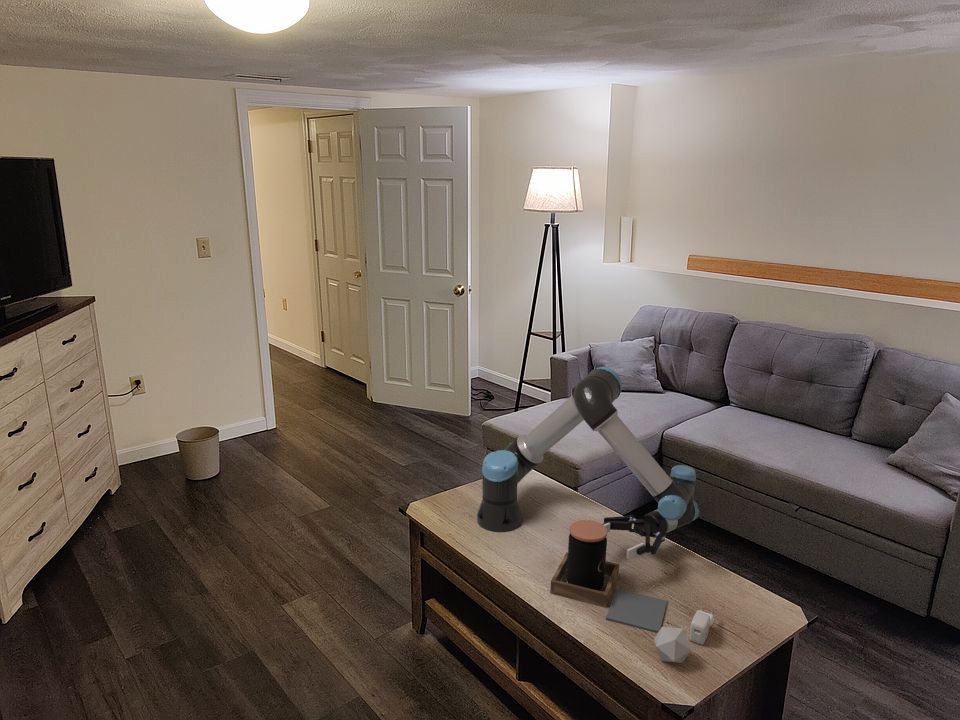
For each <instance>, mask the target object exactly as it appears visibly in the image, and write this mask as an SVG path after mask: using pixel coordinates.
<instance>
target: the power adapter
mask: <svg viewBox="0 0 960 720" xmlns="http://www.w3.org/2000/svg"><path fill="white" fill-rule="evenodd" d="M714 613H715V610H713V609H712V610H711V611H710V613H708V612H705V606H702V607H700V610H699V609H698V610H696V611H695V613H694V615H693V618H692V620H691V622H690V627H689V628H690V630H689V641H690V642H693V643H695V644H698V645H701V646H703V645H704V644H705V643H706V641H707V638H708V635H709V633H710V627H711V626H712V625H713V624H714V621H715V619H716V618H715V616H714Z"/></svg>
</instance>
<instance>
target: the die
mask: <svg viewBox="0 0 960 720" xmlns="http://www.w3.org/2000/svg"><path fill="white" fill-rule="evenodd" d="M653 641H654V645H655V648H656V650H657V654H658V656H659V658H660V661H661V662H669V663H678V664H683V662H684V661H685V660H686V658H687V657H688V655H689V654H690V653H691V651H692V649H691V645H690V643H689V640H688V638H687V635H686V632H685V629H684V628H681V627H671V626H661V629H660V631H659V632H658V633H657V634H656V635H655V636H654V638H653Z"/></svg>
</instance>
